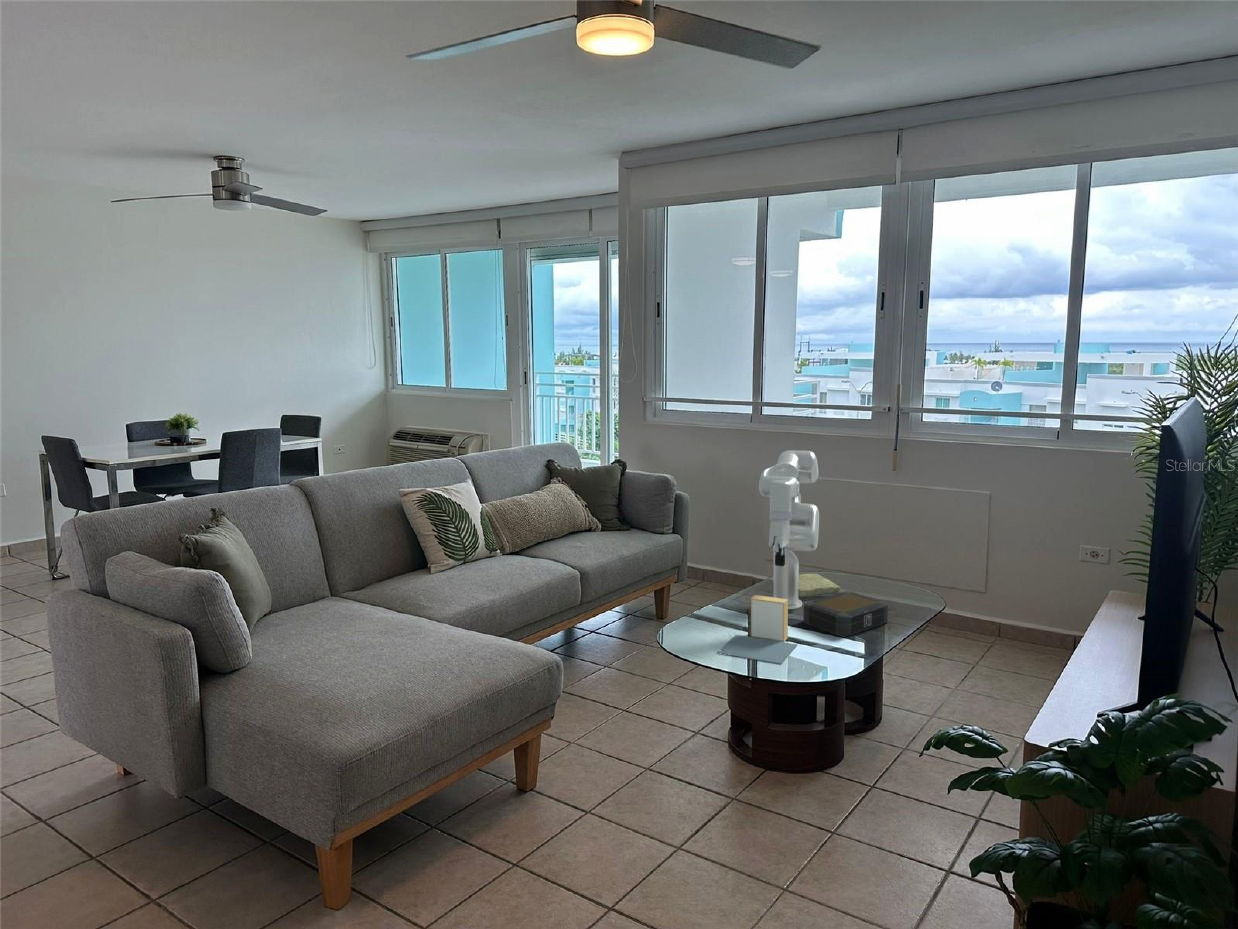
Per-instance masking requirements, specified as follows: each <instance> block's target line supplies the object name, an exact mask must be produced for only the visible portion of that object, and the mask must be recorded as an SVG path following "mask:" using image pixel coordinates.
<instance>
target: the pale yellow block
mask: <svg viewBox="0 0 1238 929" xmlns="http://www.w3.org/2000/svg"><path fill="white" fill-rule="evenodd" d="M788 620H789V609H788V599H781V598H774V596H765V595H757V594H754V595H753V596H752V597H751V598H750V637H754V638H760V639H766V640H773V641H779V642H786V640H788V634H789V633H788V632H789V631H788V630H789V629H788V625H789V624H788V623H789V622H788Z"/></svg>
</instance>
